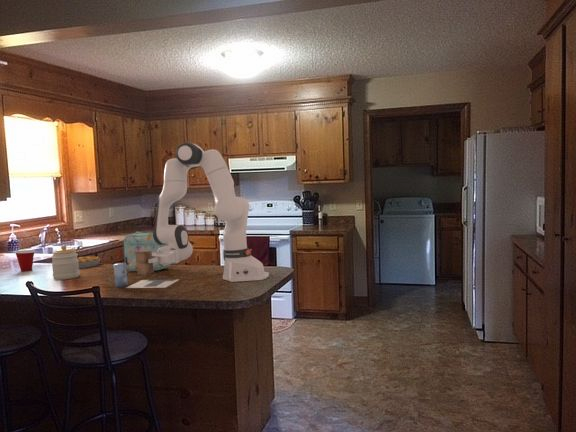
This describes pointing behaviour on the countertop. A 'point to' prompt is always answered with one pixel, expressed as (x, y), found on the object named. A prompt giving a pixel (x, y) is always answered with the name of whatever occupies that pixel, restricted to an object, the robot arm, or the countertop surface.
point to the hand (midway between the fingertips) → (142, 261)
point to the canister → (120, 275)
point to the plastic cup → (25, 259)
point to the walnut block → (144, 262)
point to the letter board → (152, 283)
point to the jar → (65, 263)
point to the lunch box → (140, 249)
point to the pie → (88, 261)
